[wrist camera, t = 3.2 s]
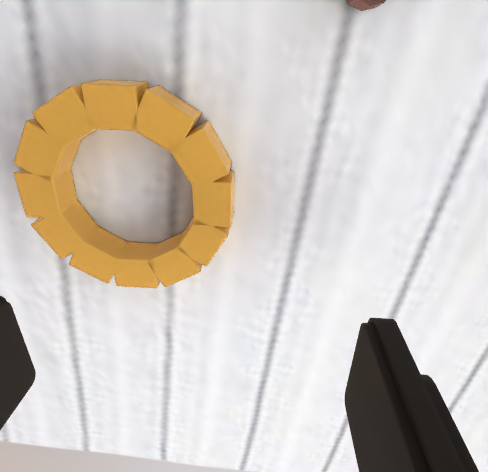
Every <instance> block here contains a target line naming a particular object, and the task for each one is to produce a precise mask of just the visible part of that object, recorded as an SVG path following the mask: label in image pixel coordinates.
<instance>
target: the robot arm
mask: <svg viewBox="0 0 488 472" xmlns="http://www.w3.org/2000/svg"><path fill="white" fill-rule="evenodd" d="M34 380H35V369H34V366H33V363H32V361H31V358H30V355H29V353H28V350H27V347H26V344H25V342H24V339H23V336H22V333H21V331H20V328H19V325H18V322H17V320H16V317H15V314H14V312H13V309H12V306H11V304H10V303H9V302H7V301H6V299H5V298H4V297H2V296H0V430H1V428H2V427H3V426H4V424H5V423H6V421H7V420H8V418H9V417H10V416H11V414H12V413H13V411H14V410H15V409H16V407H17V406H18V404H19V403H20V402H21V400H22V399H23V397H24V396H25V394H26V393H27V392H28V390H29V389H30V387H31V386H32V384H33V382H34ZM345 407H346V412H347V417H348V421H349V426H350V431H351V435H352V440H353V445H354V449H355V454H356V459H357V463H358V468H359V472H479V471H478V469H477V467H476V465H475V463H474V461H473V459H472V457H471V455H470V453H469V451H468V449H467V447H466V445H465V443H464V441H463V439H462V437H461V435H460V433H459V431H458V429H457V427H456V425H455V423H454V421H453V419H452V417H451V415H450V413H449V410H448V408H447V406H446V404H445V402H444V400H443V398H442V396H441V394H440V392H439V390H438V388H437V386H436V384H435V383H434V381H433V380H432V378H430V377H429V376H428V375H421V374H420V372H419V370H418V368H417V366H416V364H415V362H414V359H413V357H412V355H411V353H410V351H409V349H408V347H407V344H406V342H405V340H404V338H403V336H402V334H401V332H400V329H399V327H398V325H397V323H396V321H395V320H393V319H383V318H370V319H369V321H368V323H362V324H361V327H360V331H359V335H358V339H357V344H356V348H355V352H354V357H353V361H352V365H351V369H350V374H349V378H348V382H347V387H346V391H345Z"/></svg>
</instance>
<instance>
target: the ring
mask: <svg viewBox="0 0 488 472" xmlns="http://www.w3.org/2000/svg"><path fill="white" fill-rule="evenodd" d="M32 114H33V116H34V117H35V118H34V119H31V120H28V121H26V123H25V126H24V130H23V133H22V136H21V140H20V143H19V147H18V150H17V153H16V157H15V160H14V164H15V165H17V166H19V167H21V168H23V169H21V170H19V171H17V172H15V173H14V176H15V180H16V183H17V187H18V190H19V193H20V197H21V200H22V204H23V207H24V211H25V214H26V216H27V217H40V218H39V219H38V220H36V221H35V222H34V223H32V224H31V226H32V227H33V228H34V229H35V230H36V231H37V232H38V233H39V235H40V236H41V237H42V238H43V239H44V240H45V241H46V242H47V244H48V245H49V246H50V247H51V248H52V249H53V250H54V251H55V253H56V254H57V255H58V256H59V257H60V258H61V259H62V258H64V257H66V256H68V255H70V254H72V253H73V256H72V258H71V260H70V262H69V265H71V266H73V267H75V268H77V269H79V270H81V271H83V272H85V273H87V274H89V275H91V276H93V277H95V278H97V279H99V280H101V281H103V282H105V283H109V282H110V280H111V279H112V277H113V276H114V275H115V280H116V285H117V286H125V287H142V288H157V287H158V285H159V283H160V281H161V283H162V284H163V285H164V286H165V287H167V286H169V285H171V284H174V283H176V282H178V281H180V280H183V279H185V278H187V277H190V276H192V275H194V274H197V273H199V272H200V271H201V267H202V265H204V266H207V265H208V264H209V262H210V261H211V259H212V258H213V257H214V255H215V254H216V252H217V251H218V249H219V248H220V246H221V245H222V243H223V242H224V240H225V239H226V238H227V236H228V232H229V227H231V224H232V219H233V213H234V174H235V172H234V171H230V167H231V164H232V161H231V159H230V157H229V155H228V154H227V152H226V150H225V148H224V147H223V145H222V143H221V141H220V139H219V138H218V136H217V134H216V132H215V130H214V129H213V127H212V125H211V123H210V122H209V120H208V121H206V122H204V123H203V124H201V125H199V126H197V127H196V128H194V127H195V125H196V123H197V121H198V119H199V117H200V115H201V112H200V111H198V110H197V109H195V108H193V107H192V106H190V105H189V104H187V103H186V102H184V101H182V100H181V99H179V98H178V97H176V96H175V95H173V94H171V93H170V92H168V91H167V90H165V89H164V88H162V87H160V86H159V85H157V86H154V87H151V88H148V82H145V81H118V80H96V81H91V82H86V83H82V84H81V85H76V86H71V87H69V88H67V89H66V90H64V91H63V92H61V93H60V94H58V95H57V96H55V97H54V98H52V99H51V100H50V101H48V102H47V103H45V104H44V105H42V106H41V107H39V108H38V109H36V110H35V111H33V113H32ZM193 128H194V129H193ZM97 129H109V130H133V131H136V132H138V133H139V134H141V135H143V136H144V137H146V138H148V139H150V140H151V141H153V142H155V143H156V144H158V145H160V146H161V147H163V148H165V149H166V150H168V151H170V152H171V153H172V155H173V157H174V158H175V160H176V161H177V163H178V164H179V166H180V168H181V169H182V171H183V172H184V174H185V176H186V177H187V179H188V180H189V182H190V184H191V185H192V195H193V218H192V220H191V221H190V223H189V225H188V226H187V228H186V229H185V231H184V232H181V233H179V234H177V235H175V236H173V237H171V238H169V239H167V240H165V241H163V242H161V243H159V244H157V243H138V242H127V241H125V240H123V239H121V238H119V237H117V236H115V235H114V234H112V233H110V232H108V231H106V230H104V229H102V228H100V227H99V226H98V225H97V224H96V223H95V221H94V220H93V219H92V218H91V216H90V215H89V214H88V213H87V211H86V210H85V209H84V208H83V206H82V205H81V204H80V203H79V201H78V200H77V195H76V191H75V186H74V181H73V177H72V172H71V166H72V163H73V161H74V158H75V156H76V153H77V150H78V148H79V145H80V142H81V140H82V139H83V138H84V137H86V136H88V135H89V134H91V133H93V132H94V131H96V130H97Z"/></svg>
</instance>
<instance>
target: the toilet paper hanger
mask: <svg viewBox="0 0 488 472" xmlns="http://www.w3.org/2000/svg"><path fill="white" fill-rule="evenodd" d="M346 1H347V3H348V4H349V5H351V6H353V7H355V8H357V9H359V10H360V11H363V10H368V9H372V8H375V7H377V6H379V5H381V4H383V3H384V2H385V1H386V0H346Z"/></svg>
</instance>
